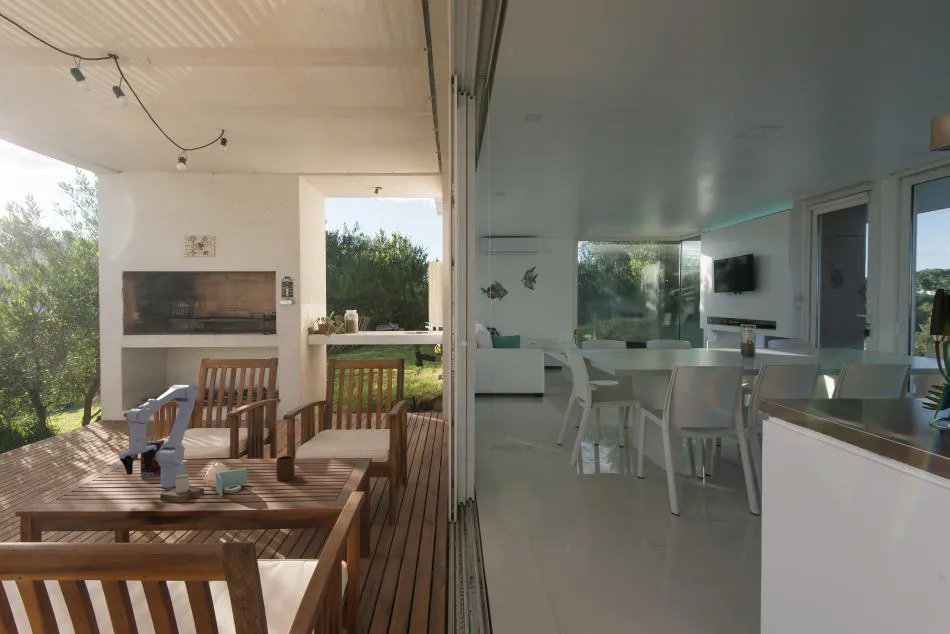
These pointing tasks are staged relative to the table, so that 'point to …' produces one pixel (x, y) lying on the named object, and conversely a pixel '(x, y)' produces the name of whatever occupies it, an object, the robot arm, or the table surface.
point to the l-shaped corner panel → (230, 480)
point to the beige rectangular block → (182, 483)
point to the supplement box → (155, 467)
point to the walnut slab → (181, 495)
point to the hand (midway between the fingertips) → (138, 471)
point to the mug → (285, 468)
